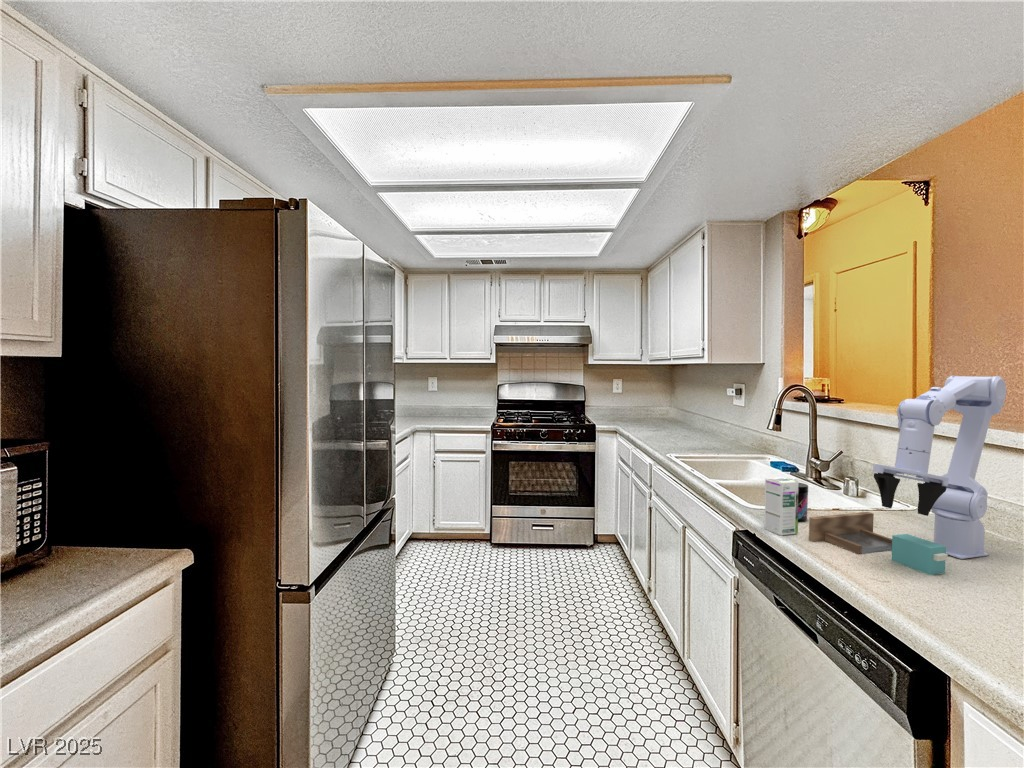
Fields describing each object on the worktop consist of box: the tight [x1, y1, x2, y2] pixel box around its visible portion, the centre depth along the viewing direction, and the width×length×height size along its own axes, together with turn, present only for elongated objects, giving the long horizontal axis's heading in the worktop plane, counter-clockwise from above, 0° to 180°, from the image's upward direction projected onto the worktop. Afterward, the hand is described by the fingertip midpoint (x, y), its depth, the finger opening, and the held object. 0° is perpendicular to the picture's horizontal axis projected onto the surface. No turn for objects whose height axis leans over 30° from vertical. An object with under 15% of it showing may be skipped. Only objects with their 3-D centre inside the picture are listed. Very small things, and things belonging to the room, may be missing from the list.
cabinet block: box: [891, 533, 949, 576], centre depth 105 cm, size 4×9×6 cm, turn 15°
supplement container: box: [798, 481, 809, 523], centre depth 138 cm, size 7×7×10 cm
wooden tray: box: [808, 511, 892, 555], centre depth 118 cm, size 20×10×6 cm, turn 105°
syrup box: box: [764, 477, 799, 537], centre depth 127 cm, size 6×6×14 cm
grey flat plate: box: [835, 533, 892, 554], centre depth 118 cm, size 11×9×1 cm
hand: (904, 511), depth 104 cm, fingers open, 7 cm apart
